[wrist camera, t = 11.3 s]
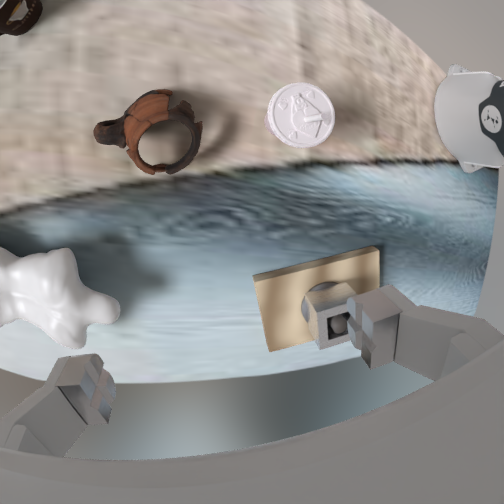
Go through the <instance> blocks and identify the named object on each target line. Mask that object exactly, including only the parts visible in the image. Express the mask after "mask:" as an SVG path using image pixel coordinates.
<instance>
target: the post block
mask: <svg viewBox="0 0 504 504" xmlns="http://www.w3.org/2000/svg"><path fill="white" fill-rule="evenodd" d="M253 281H254V286H255V290H256V295H257V300H258V304H259V309H260V314H261V318H262V323H263V328H264V333H265V337H266V342H267V346H268V349H269V352H272V351H276V350H280V349H284V348H288V347H291V346H295V345H299V344H302V343H306V342H309V341H313V340H314V338H313V336H312V334H311V332H310V331H309V328H308V319H307V310H306V302H305V294H304V293H307V292H311V291H315V290H318V289H322V288H326V287H329V286H333V285H336V284H340V283H344V282H346V283H347V284H348V285H349V286H350V287H351V288H352V289H353V290H354V291H355V292H356V294H357V295H360V294H363V293H366V292H369V291H372V290H375V289H377V288H379V250H378V249H376V248H375V247H373V246H370V247H366V248H362V249H358V250H354V251H350V252H346V253H343V254H339V255H335V256H331V257H327V258H323V259H319V260H315V261H311V262H307V263H303V264H299V265H295V266H291V267H287V268H282V269H278V270H274V271H270V272H266V273H262V274H258V275H253ZM327 321H328V323H329V324H330V326H331V327H332V329H333V330H334V332H335V333H342V332H344V331H345V330H346V329H347V327H348V326H347V321H346V320H345V318H344V317H343V316H342V314H338V315H335V316H332V317H328V318H327Z"/></svg>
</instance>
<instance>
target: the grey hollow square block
mask: <svg viewBox="0 0 504 504" xmlns="http://www.w3.org/2000/svg"><path fill="white" fill-rule="evenodd" d="M304 294H305V302H306V310H307V319H308V328H309V331H310V332H311V334H312V336H313V338H314V340H315V342H316V344H317V345H318V347H319V349H320V350H321V349H325V348H328V347H331V346H334V345H337V344H341V343H344V342H347V341H350V337H349V333H348V327H347V329H346V330H345V331H344V332H342V333H335V332H334V330H333V329H332V327H331V326H330V324H329V323H328V321H327V318H328V317H332V316H335V315H338V314H342V316H343V317H344V318H345V320H346V321H348V319H349V318H350V316H351V314H350V313H349V312H348V310H347V300H348V298H350V297H354V296H357V294H356V292H355V291H354V290H353V289H352V288H351V287H350V286H349V285H348V284H347V283H346V282H344V283H340V284H336V285H333V286H329V287H326V288H322V289H318V290H315V291H311V292H307V293H304Z"/></svg>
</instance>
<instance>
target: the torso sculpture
mask: <svg viewBox="0 0 504 504" xmlns="http://www.w3.org/2000/svg"><path fill="white" fill-rule="evenodd" d="M119 316H120V304H119V302H118V300H117V299H115V298H113V297H111V296H109V295H107V294H104V293H100V292H97V291H94V290H91V289H90V288H88V287H86V286H85V285H84V284H83V283H82V282H81V280H80V278H79V273H78V266H77V262H76V259H75V256H74V254H73V252H72V250H70V249H69V248H61V249H58V250H51V251H49V252H48V253H36V254H31V255H28V256H25V257H17V256H15V255H14V254H12V253H11V252H9V251H8V250H6V249H4V248H2V247H0V327H2V326H3V325H5V324H7V323H11V322H13V321H15V320H17V319H22V320H25V321H28V322H30V323H32V324H34V325H35V326H37V327H39V328H40V329H42V330H43V331H44V332H45V333H46V334H47V335H48V336H49V337H50V338H51V339H53V340H54V341H55V342H57V343H58V344H60V345H62V346H64V347H67V348H71V349H81V348H83V347H84V346H85V344H86V339H87V332H86V330H87V327H88V326H89V325H90V324H93V323H100V324H112V323H114V322H116V321H117V319H118V318H119Z"/></svg>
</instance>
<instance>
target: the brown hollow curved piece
mask: <svg viewBox="0 0 504 504" xmlns="http://www.w3.org/2000/svg"><path fill="white" fill-rule="evenodd" d="M172 94H173V92H172V91H170V90H165V89H163V90H152V91H149V92H147V93H145V94H143V95H142V96H141V97H139V98H138V99H137V100H136V101H135V102H134V103H133V104H132V105H131V106H130V107H129V108H128V109H127V110H126V111H125V113H124V115H123V116H122V117H120V118H118V119H116V120H108V121H103V122H99V123H98V124H97V125H96V127H95V128H94V131H93V132H94V136H95V139H96V140H97V142H98V143H100V144H105V145H117V146H119V147H120V148H125V147H126V145H127V146H128V147H129V149H128V150H127V154H128V155H129V157H130V158H131V159H132V160H133V161H134V162H135V164H136V165H137V167H138V168H140V169H141V170H142V171H144V172H145V173H148V174H151V175H154V174H155V172H165V171H166V173H168V174H174V173H176V172H178V171H180V170H181V169H183V168H185V167H186V166H187V165H189V163H190V162H191V161H192V160H193V158H194V157H195V156H196V154H197V152H198V149H199V146H200V140H201V134H202V121H200V122H197V123H194V118H195V117H194V112H193V111H192V109H191V105H190V104H189V103H188V102H186V101H184V100H182V101H181V103H180V104H179V105H177V106H176V107H174V108H173V109H171V110H168V106H169V105H168V103H169V97H168V96H167V95H172ZM165 120H176V121H179V122H181V123H183V124H185V125H186V126H187V127H188V128H189V130H190V131H191V134H192V143H191V146H190V149H189V151H188V152H187V153H186V155H185V156H184V157H183V158H182V159H180V160H179V161H178V162H176V163H174V164H172V165H169V166H166V165H164V164H157V165H153V166H152V165H149V164H147V163H146V162H144V161H143V160H142V158H141V157H140V155H139V151H138V144H139V140H140V138H141V136H142V135H143V133H144V132H145V131H146V130H147V129H148V128H149V127H150V126H152V125H153V124H155V123H157V122H160V121H165Z"/></svg>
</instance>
